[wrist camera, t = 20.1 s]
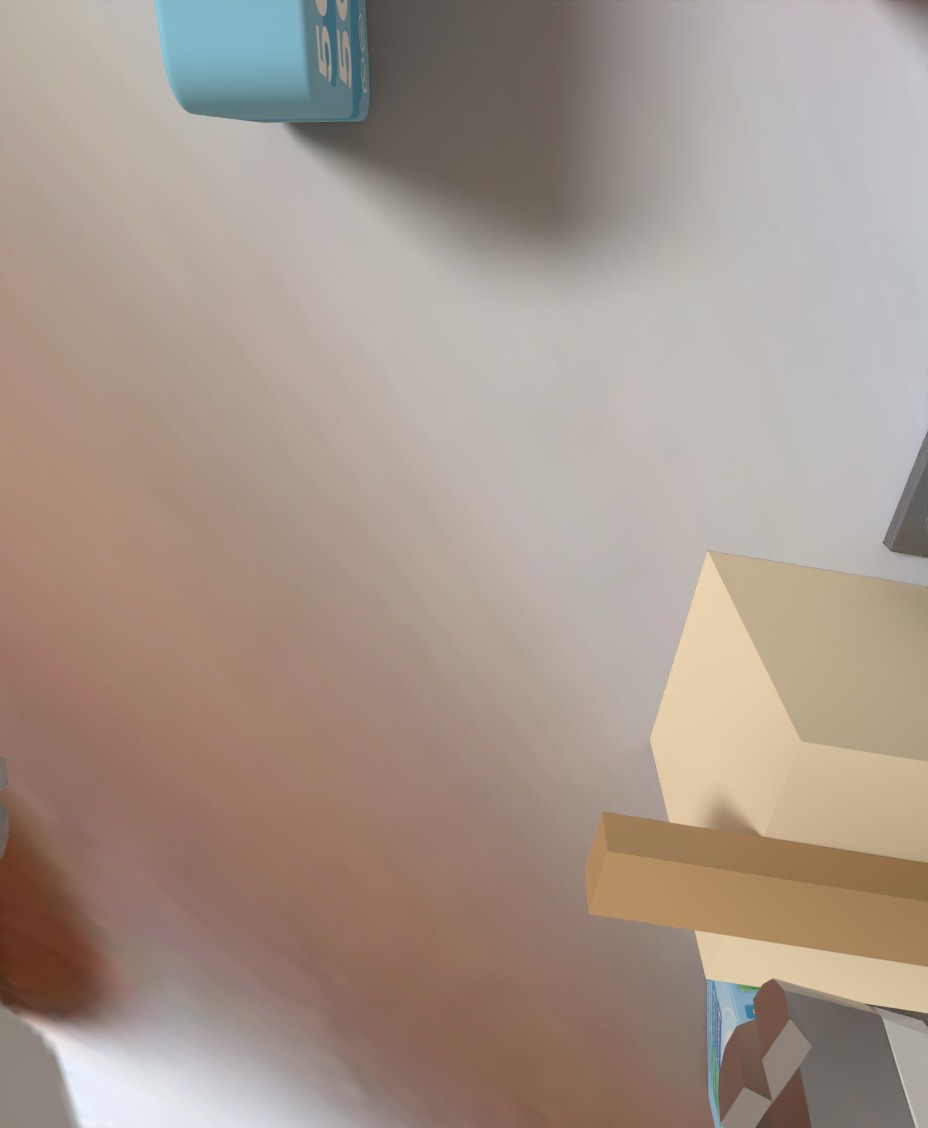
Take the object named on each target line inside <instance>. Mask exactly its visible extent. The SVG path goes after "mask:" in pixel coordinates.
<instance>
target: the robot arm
mask: <svg viewBox="0 0 928 1128" xmlns="http://www.w3.org/2000/svg"><path fill="white" fill-rule="evenodd" d="M7 784H8V777H7V766H6V759H4V758H2V757H0V792H1V790H2V789H3V788H4V787H5V786H6V785H7ZM8 835H9V813H8V812H7V811H6V809H5V808H4V807H3V805H2V804H1V802H0V860H1V858H2V856H3V854H4V852H5V848H6V843H7V839H8ZM753 1003H754V1010H755V1017H756V1019H753V1020H751V1021H748V1022H746V1023H743V1024H741V1025H738V1026H736V1028H735V1030H734V1031H733V1033H732V1035H731V1037H730V1039H729V1040H728V1042H727V1044H726V1046H725V1049H724V1053H723V1058H722V1062H721V1067H720V1071H719V1085H718V1102H719V1112H720V1123H721V1125H722V1127H723V1128H928V1027H927V1026H926V1025H925V1023H924V1022H923V1021H922V1020H918V1019H915V1018H911V1017H908V1016H904V1015H901V1014H897V1013H894V1012H890V1011H887V1010H883V1009H880V1008H876V1007H873V1006H867V1005H866V1004H865V1003H861V1002H857V1001H854V1000H850V999H846V998H843V997H839V996H836V995H832V994H828V993H825V992H821V991H818V990H814V989H810V988H807V987H803V986H799V985H796V984H792V983H789V982H785V981H781V980H778V979H774V978H773V979H771V980H769V981H767V982H766V983H764V984H763V985H762V986H761V988H760V989H759V991H758V992H757V994H756V995H755V997H754V999H753Z"/></svg>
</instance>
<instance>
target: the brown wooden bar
mask: <svg viewBox="0 0 928 1128" xmlns="http://www.w3.org/2000/svg"><path fill="white" fill-rule="evenodd" d="M585 881H586V891H587V901H588V911H589V914H593V915H600V916H606V917H613V918H619V919H625V920H632V921H638V922H644V923H651V924H657V925H664V926H670V927H676V928H683V929H689V930H696V931H702V932H708V933H715V934H721V935H727V936H734V937H740V938H747V939H753V940H759V941H766V942H772V943H779V944H785V945H791V946H798V947H804V948H810V949H817V950H823V951H830V952H836V953H842V954H849V955H855V956H862V957H868V958H874V959H881V960H887V961H893V962H900V963H906V964H913V965H919V966H925V967H928V863H921V862H915V861H909V860H902V859H896V858H890V857H884V856H877V855H871V854H865V853H858V852H852V851H846V850H840V849H833V848H827V847H821V846H814V845H808V844H802V843H796V842H789V841H783V840H777V839H771V838H764V837H758V836H752V835H745V834H739V833H733V832H727V831H720V830H714V829H708V828H701V827H695V826H689V825H683V824H676V823H670V822H664V821H657V820H651V819H645V818H639V817H632V816H626V815H620V814H613V813H607V812H602V814H601V818H600V821H599V825H598V828H597V832H596V835H595V838H594V842H593V845H592V849H591V852H590V856H589V859H588V862H587V866H586V869H585Z"/></svg>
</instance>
